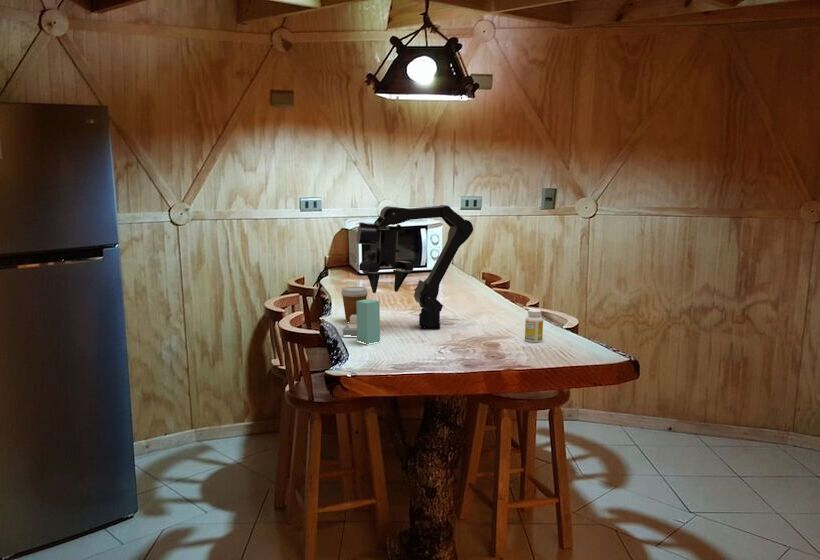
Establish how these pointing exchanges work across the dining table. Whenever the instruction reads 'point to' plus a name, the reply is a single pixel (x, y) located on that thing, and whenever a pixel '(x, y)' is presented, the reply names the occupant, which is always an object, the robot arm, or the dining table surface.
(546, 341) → the dining table surface
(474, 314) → the dining table surface
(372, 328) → the column
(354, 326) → the base plate
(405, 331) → the dining table surface
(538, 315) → the supplement bottle
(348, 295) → the disposable coffee cup
